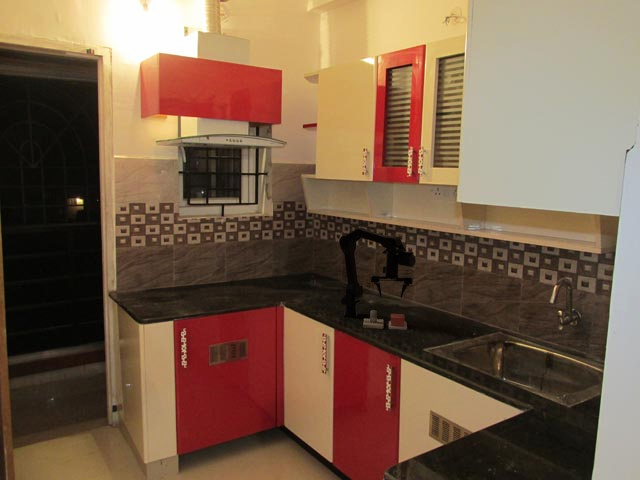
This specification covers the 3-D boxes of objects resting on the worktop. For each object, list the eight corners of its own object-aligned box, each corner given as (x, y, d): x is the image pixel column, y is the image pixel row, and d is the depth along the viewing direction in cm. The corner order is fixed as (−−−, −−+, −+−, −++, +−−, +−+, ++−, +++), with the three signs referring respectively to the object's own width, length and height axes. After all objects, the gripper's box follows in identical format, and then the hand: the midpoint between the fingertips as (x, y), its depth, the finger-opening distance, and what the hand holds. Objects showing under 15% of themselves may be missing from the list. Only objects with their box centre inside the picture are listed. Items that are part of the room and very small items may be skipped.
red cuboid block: (390, 326, 244) (391, 317, 244) (390, 322, 250) (390, 313, 250) (404, 326, 244) (404, 317, 243) (403, 322, 249) (404, 314, 249)
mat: (388, 322, 252) (388, 320, 252) (406, 323, 251) (406, 321, 251) (388, 328, 243) (388, 327, 242) (406, 329, 242) (406, 327, 241)
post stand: (364, 321, 254) (364, 308, 253) (383, 322, 253) (383, 308, 252) (363, 327, 244) (363, 313, 243) (383, 328, 243) (383, 314, 242)
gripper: (412, 261, 253) (410, 294, 256) (372, 259, 256) (371, 292, 258) (413, 266, 242) (411, 300, 245) (371, 264, 245) (370, 297, 247)
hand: (390, 297), depth 249 cm, fingers open, 9 cm apart
